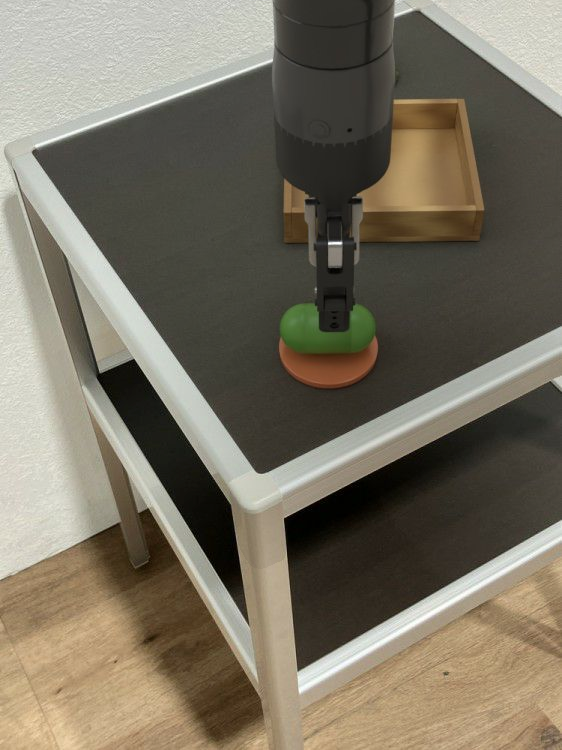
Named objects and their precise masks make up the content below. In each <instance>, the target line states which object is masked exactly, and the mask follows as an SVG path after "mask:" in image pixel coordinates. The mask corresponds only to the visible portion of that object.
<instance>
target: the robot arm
mask: <svg viewBox="0 0 562 750" xmlns="http://www.w3.org/2000/svg"><path fill="white" fill-rule="evenodd" d="M271 1H272V19H273V38H274V39H273V56H272V65H271V68H272V69H271V85H272V88H271V89H272V102H273V104H272V105H273V124H274V141H275V142H274V143H275V162H276V167H277V169H278V171H279V173H280V175H281V176H282V177H283V179H284V178H285V179H286V181H288V182H289V183H290V184H291V185H293V186H294V187H296V188H297V189H299V190H301V191H304V192H305V194H307V195H309V197H304V209H305V221H306V223H307V224H308V226H309V243H308V261H309V263H310V265H311V266H313V267H315V268H316V269H315V270H316V286H314V295H316V298H314V303H315V306H317V312H319V330H320V331H322V332H346V331H348V330H349V328H350V311H353V306H355V303H356V298H355V297H354V294H355V266H356V265H357V264H358V263H359V261H360V242H359V224H360V222H361V221H362V219H363V196H357V194H358V193H361V192H362V191H364V190H366V189H368V188H370V187H371V186H373V185H374V184H376V183H377V182H378V181H379V180H380V179H381V178H382V177H383V176H384V175H385V173H386V171H387V169H388V167H389V164H390V158H391V141H392V123H393V104H394V100H395V86H396V84H395V65H396V63H395V52H394V33H395V32H394V29H395V10H396V0H271ZM316 218H317V229H318V238H316ZM350 228H351V237H349V235H350Z"/></svg>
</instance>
